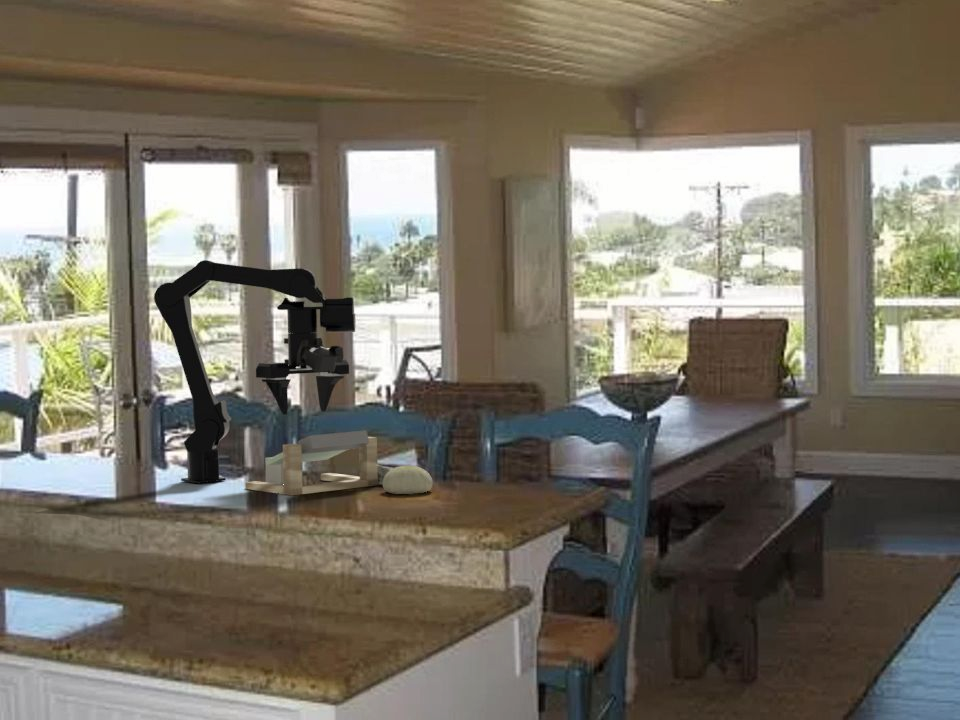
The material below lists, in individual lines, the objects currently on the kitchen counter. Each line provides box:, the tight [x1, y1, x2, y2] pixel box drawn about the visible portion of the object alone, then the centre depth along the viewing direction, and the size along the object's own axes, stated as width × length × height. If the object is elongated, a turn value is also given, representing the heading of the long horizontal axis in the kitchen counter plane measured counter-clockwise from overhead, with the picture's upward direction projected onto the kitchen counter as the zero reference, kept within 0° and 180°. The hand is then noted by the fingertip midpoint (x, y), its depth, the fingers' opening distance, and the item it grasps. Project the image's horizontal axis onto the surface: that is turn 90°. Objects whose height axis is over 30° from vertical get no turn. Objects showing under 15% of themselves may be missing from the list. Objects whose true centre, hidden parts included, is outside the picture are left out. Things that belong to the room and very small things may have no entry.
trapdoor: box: [264, 430, 369, 466], centre depth 290 cm, size 15×14×2 cm
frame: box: [245, 436, 379, 496], centre depth 291 cm, size 15×20×9 cm
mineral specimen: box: [377, 463, 394, 486], centre depth 294 cm, size 6×12×4 cm, turn 42°
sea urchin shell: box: [382, 465, 434, 495], centre depth 281 cm, size 9×8×8 cm
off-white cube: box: [264, 456, 284, 485], centre depth 298 cm, size 5×5×5 cm
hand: (304, 413), depth 303 cm, fingers open, 9 cm apart
